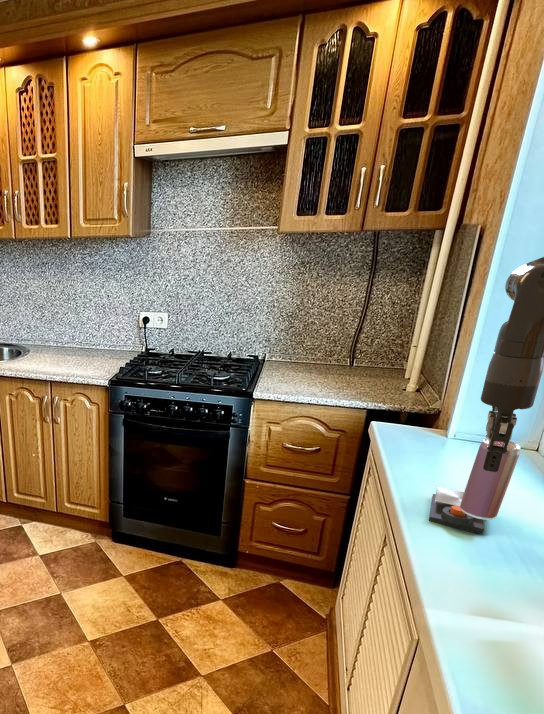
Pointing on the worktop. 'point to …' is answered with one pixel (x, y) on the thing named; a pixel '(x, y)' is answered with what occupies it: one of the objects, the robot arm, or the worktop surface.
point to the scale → (454, 518)
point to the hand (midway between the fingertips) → (489, 464)
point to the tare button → (457, 511)
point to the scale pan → (448, 496)
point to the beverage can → (488, 483)
